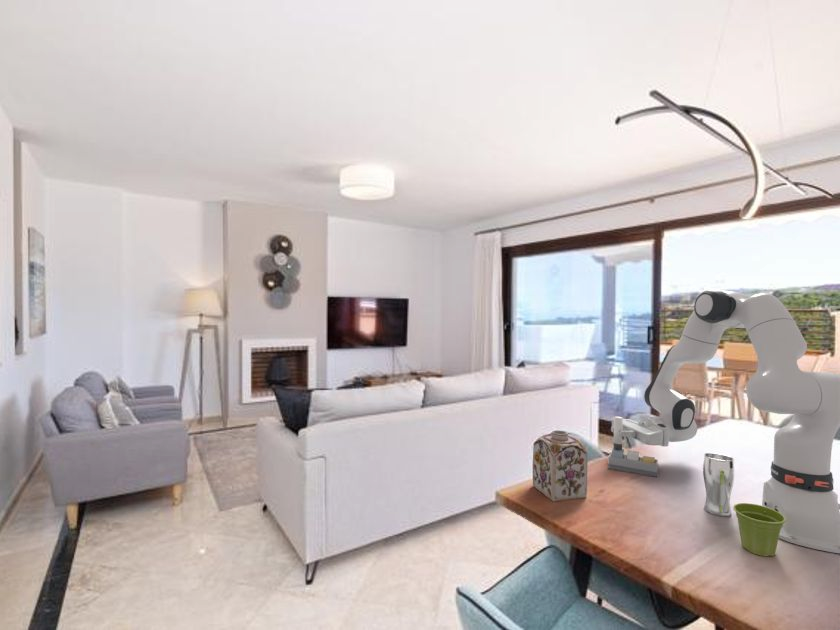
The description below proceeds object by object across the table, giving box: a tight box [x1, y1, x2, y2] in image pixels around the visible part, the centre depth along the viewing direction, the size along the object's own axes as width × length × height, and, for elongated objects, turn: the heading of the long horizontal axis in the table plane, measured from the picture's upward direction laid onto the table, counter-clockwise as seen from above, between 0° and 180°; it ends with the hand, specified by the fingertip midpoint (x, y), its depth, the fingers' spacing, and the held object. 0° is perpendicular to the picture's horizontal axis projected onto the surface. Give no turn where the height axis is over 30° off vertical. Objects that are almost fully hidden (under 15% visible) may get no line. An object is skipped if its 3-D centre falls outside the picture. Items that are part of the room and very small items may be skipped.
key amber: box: [642, 455, 656, 464], centre depth 148 cm, size 4×4×3 cm
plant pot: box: [732, 502, 786, 557], centre depth 99 cm, size 9×9×9 cm
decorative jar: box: [532, 429, 589, 502], centre depth 129 cm, size 12×12×18 cm
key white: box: [626, 449, 640, 461], centre depth 150 cm, size 4×4×3 cm
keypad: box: [607, 451, 659, 478], centre depth 150 cm, size 13×15×3 cm
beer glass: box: [702, 452, 735, 517], centre depth 117 cm, size 7×7×15 cm
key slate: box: [611, 447, 625, 459], centre depth 152 cm, size 4×4×3 cm
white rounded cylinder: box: [612, 416, 624, 450], centre depth 152 cm, size 3×3×11 cm
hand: (615, 431), depth 152 cm, fingers closed on white rounded cylinder, 3 cm apart
